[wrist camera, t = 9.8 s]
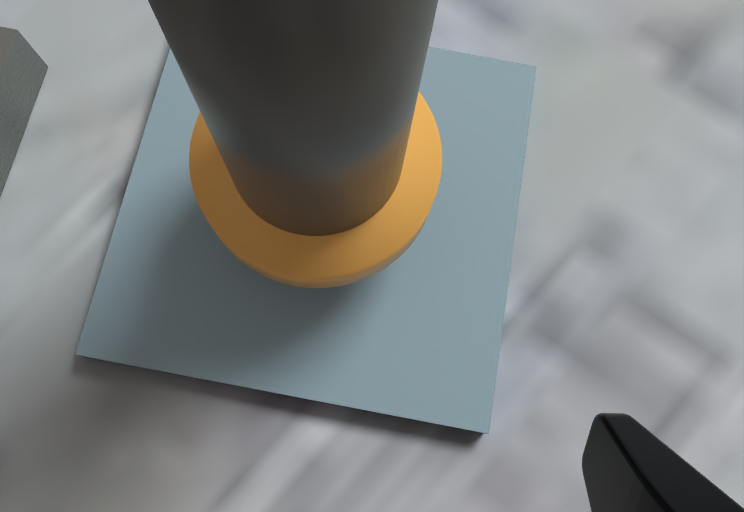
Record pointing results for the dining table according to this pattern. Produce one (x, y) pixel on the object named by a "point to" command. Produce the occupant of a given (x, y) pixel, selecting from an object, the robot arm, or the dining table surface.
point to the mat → (336, 304)
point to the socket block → (16, 93)
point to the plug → (309, 130)
